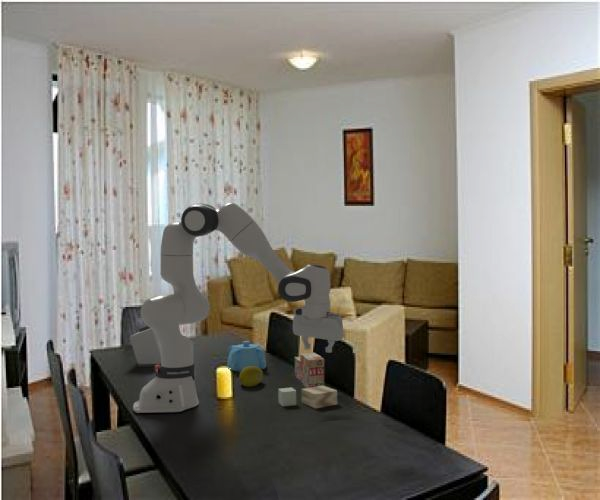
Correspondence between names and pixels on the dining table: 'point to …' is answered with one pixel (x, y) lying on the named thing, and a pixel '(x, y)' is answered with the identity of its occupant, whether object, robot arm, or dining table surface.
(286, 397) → the sage cube
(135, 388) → the dining table surface
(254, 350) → the decorative pot
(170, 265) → the robot arm
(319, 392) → the birch base block
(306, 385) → the cardboard box
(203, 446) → the dining table surface
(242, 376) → the lemon
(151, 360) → the alarm clock
